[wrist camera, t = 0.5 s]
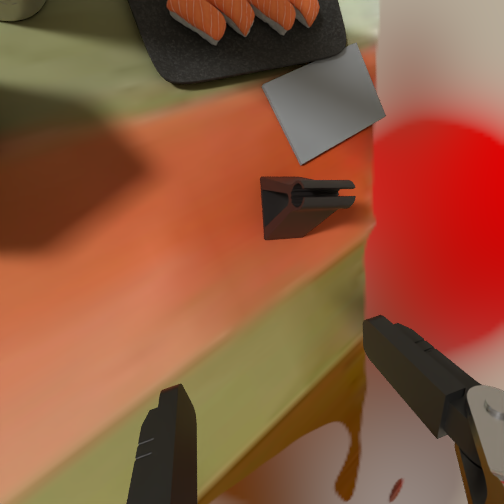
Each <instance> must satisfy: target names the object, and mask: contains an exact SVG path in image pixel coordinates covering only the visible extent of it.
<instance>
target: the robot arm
mask: <svg viewBox="0 0 504 504" xmlns="http://www.w3.org/2000/svg"><path fill="white" fill-rule="evenodd" d="M44 3H45V0H0V20H1V21H17V20H23V19H26V18H28V17H31V16H33V15H34V14H35V13H37V12H38V11H39V10H40V9H41V7H42V6H43V5H44ZM363 346H364V350H365V352H366V354H367V356H368V358H369V359H370V361H371V362H372V363H373V364H374V365H375V366H376V368H377V369H378V370H379V371H380V372H381V374H382V375H383V376H384V377H385V378H386V379H387V381H388V382H389V383H390V384H391V385H392V386H393V388H394V389H395V390H396V391H397V392H398V394H399V395H400V396H401V397H402V398H403V399H404V401H405V402H406V403H407V404H408V405H409V407H411V409H412V410H413V411H414V412H415V413H416V415H417V416H418V417H419V418H420V419H421V421H422V422H423V423H424V424H425V425H426V426H427V428H428V429H429V430H430V431H431V432H432V434H433V435H434V436H435V437H436V438H437V439H438V438H441V437H443V436H445V435H449V436H450V438H452V440H453V441H454V442H455V451H456V455H457V459H458V463H459V468H460V472H461V476H462V480H463V485H464V489H465V493H466V497H467V501H468V504H504V391H503V390H500V389H498V388H495V387H491V386H485V385H481V384H480V383H478V382H477V381H475V380H474V379H473V378H471V377H470V376H469V375H468V374H466V373H465V372H464V371H463V370H461V369H460V368H459V367H458V366H456V365H455V364H454V363H453V362H452V361H450V360H449V359H448V358H447V357H446V356H444V355H443V354H442V353H441V352H439V351H438V350H437V349H434V347H433V346H432V345H431V344H429V343H428V342H427V341H424V339H423V338H422V337H421V336H420V335H418V334H417V333H416V332H415V331H413V330H412V329H409V328H408V327H406V326H403V325H401V324H399V323H397V324H392V323H391V322H390V321H389V320H388V319H386V318H385V317H384V316H382V315H379V316H376V317H373V318H370V319H367V320H364V321H363ZM138 444H139V446H138V447H137V452H136V457H135V458H136V461H135V463H134V468H133V473H132V478H131V483H130V488H129V494H128V499H127V504H197V423H196V414H195V410H194V407H193V405H192V403H191V401H190V399H189V397H188V395H187V393H186V391H185V389H184V387H183V385H182V384H178V385H175V386H172V387H169V388H166V389H164V390H162V391H161V393H160V397H159V404H158V408H155V409H152V410H150V411H149V413H148V415H147V417H146V419H145V421H144V422H143V424H142V426H141V432H140V437H139V442H138Z"/></svg>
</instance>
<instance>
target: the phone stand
mask: <svg viewBox="0 0 504 504" xmlns="http://www.w3.org/2000/svg"><path fill="white" fill-rule="evenodd" d="M260 183H261V198H262V208H263V210H262V212H263V227H264V239H265V240H273V239H286V238H299V237H303V236H305V235H306V234H307V233H308V232H310V231H311V230H312V229H313V228H315V227H316V226H317V225H318V224H320V223H321V222H322V221H324V220H325V219H326V218H327V217H329V216H330V215H331V214H332V213H334V212H335V211H336V210H338V209H345V208H349V207H350V206H351V205H352V204H353V203H354V201H355V197H356V196H338V195H339V194H338V191H339V190H340V189H354V188H355V185H354V184H353V182H352V181H350V180H312V179H307V178H302V177H261V178H260Z"/></svg>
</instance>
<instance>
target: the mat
mask: <svg viewBox="0 0 504 504" xmlns="http://www.w3.org/2000/svg"><path fill="white" fill-rule="evenodd" d="M262 89H263V91H264V93H265V95H266V97H267V99H268V101H269V103H270V105H271V107H272V109H273V111H274V113H275V115H276V117H277V119H278V121H279V123H280V125H281V127H282V129H283V131H284V133H285V135H286V137H287V139H288V141H289V143H290V145H291V147H292V149H293V151H294V153H295V155H296V157H297V159H298V161H299V163H300V165H302V164H304V163H305V162H307V161H309V160H311V159H312V158H314V157H316V156H318V155H319V154H321V153H323V152H324V151H326V150H328V149H330V148H331V147H333V146H335V145H337V144H338V143H340V142H342V141H344V140H345V139H347V138H349V137H351V136H352V135H354V134H356V133H358V132H359V131H361V130H363V129H365V128H366V127H368V126H370V125H372V124H373V123H375V122H377V121H379V120H380V119H382V118H384V117H385V116H386V115H385V113H384V110H383V108H382V105H381V103H380V100H379V98H378V95H377V93H376V90H375V88H374V85H373V83H372V80H371V78H370V75H369V73H368V70H367V68H366V65H365V63H364V60H363V58H362V56H361V53H360V51H359V48H358V46H357V43H354V44H352V45H349V46H347V47H345V48H344V50H343V51H342V52H341V53H339V54H338V55H336V56H333V57H330V58H326V59H322V60H317V61H314V62H312V63H309V64H307V65H305V66H303V67H301V68H298V69H296V70H294V71H292V72H289V73H287V74H285V75H283V76H281V77H278V78H276V79H274V80H272V81H270V82H267V83H265V84H263V85H262Z"/></svg>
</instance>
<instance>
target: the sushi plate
mask: <svg viewBox="0 0 504 504" xmlns="http://www.w3.org/2000/svg"><path fill="white" fill-rule="evenodd" d="M128 2H129V5H130V7H131V10H132V13H133V15H134V18H135V21H136V23H137V26H138V29H139V31H140V34H141V36H142V39H143V42H144V44H145V46H146V49H147V51H148V54H149V56H150V58H151V60H152V62H153V64H154V66H155V68H156V69H157V71H158V72H159V74H160V75H161V76H162V77H163V78H164V79H165V80H166V81H168V82H171V83H175V84H192V83H199V82H206V81H211V80H217V79H222V78H227V77H233V76H238V75H243V74H249V73H254V72H259V71H264V70H270V69H275V68H280V67H286V66H291V65H296V64H301V63H307V62H312V61H317V60H322V59H326V58H330V57H333V56H336V55H338V54H339V53H341V52H342V51H343V50H344V48H345V45H346V33H345V28H344V23H343V19H342V15H341V11H340V7H339V3H338V0H128Z"/></svg>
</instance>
